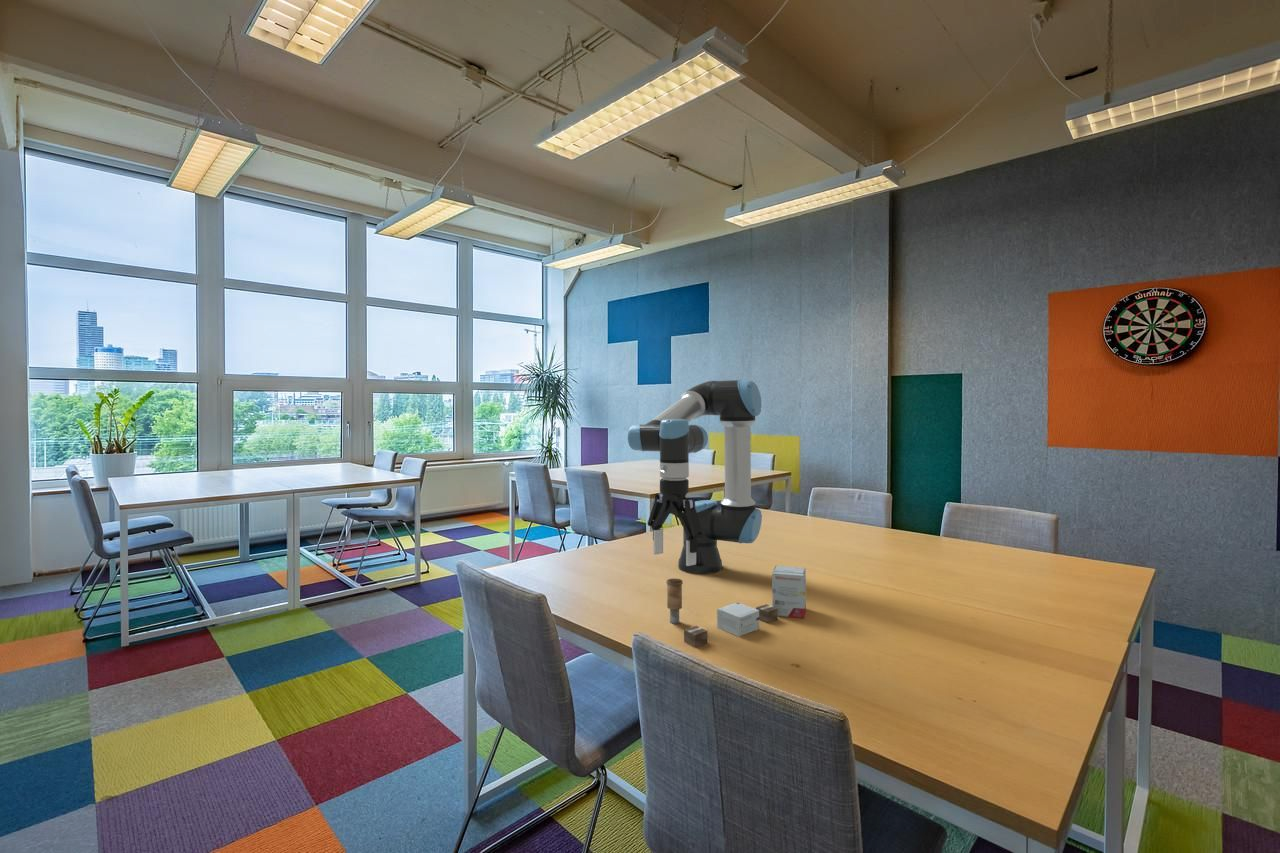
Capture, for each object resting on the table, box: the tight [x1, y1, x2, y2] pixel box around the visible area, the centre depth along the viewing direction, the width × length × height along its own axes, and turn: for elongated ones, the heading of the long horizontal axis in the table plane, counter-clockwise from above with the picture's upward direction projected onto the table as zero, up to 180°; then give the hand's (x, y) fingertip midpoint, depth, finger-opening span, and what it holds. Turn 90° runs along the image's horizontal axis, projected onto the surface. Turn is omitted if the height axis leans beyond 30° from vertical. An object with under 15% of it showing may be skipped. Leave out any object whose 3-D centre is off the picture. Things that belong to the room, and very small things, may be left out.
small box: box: [716, 602, 760, 637], centre depth 148 cm, size 8×8×5 cm
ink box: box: [771, 564, 807, 619], centre depth 159 cm, size 9×9×12 cm
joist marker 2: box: [755, 604, 779, 624], centre depth 154 cm, size 4×4×3 cm
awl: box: [666, 577, 683, 625], centre depth 152 cm, size 4×4×11 cm
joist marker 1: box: [683, 625, 708, 648], centre depth 140 cm, size 4×4×3 cm
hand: (674, 559), depth 152 cm, fingers open, 13 cm apart
